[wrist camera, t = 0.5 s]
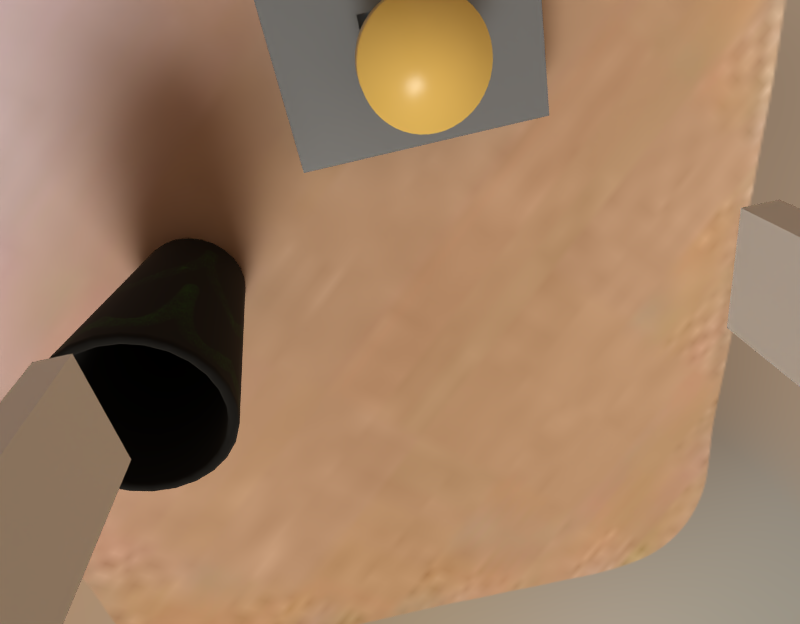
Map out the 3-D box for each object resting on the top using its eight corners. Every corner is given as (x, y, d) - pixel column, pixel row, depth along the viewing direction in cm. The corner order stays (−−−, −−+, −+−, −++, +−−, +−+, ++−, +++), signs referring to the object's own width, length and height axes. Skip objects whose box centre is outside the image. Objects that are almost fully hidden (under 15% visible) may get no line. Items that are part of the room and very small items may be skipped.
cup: (166, 358, 35) (101, 515, 24) (94, 248, 31) (-21, 378, 21) (285, 316, 34) (270, 457, 24) (226, 200, 31) (178, 307, 20)
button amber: (338, 1, 24) (342, 3, 21) (458, -26, 24) (483, -30, 21) (366, 126, 27) (374, 147, 23) (474, 100, 27) (499, 118, 23)
